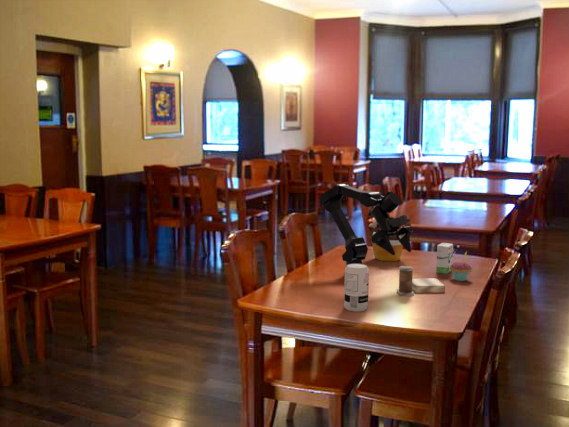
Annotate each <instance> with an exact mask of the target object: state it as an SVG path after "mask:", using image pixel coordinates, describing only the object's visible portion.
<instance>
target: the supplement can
mask: <svg viewBox="0 0 569 427" xmlns="http://www.w3.org/2000/svg"><path fill="white" fill-rule="evenodd" d="M369 281H370V269H369V268H368V265H366V264H363V263H362V264H348V265H347V266H346V265H345V268H344V282H343V283H344V285H343V288H344V289H343V290H344V291H343V292H344V294H343V296H344V297H343V300H344V301H343V307H344V308H345V310H347V311H350V312H355V313H357V312H359V313H360V312H361V313H362V312H364V311H367V309H369V287H370V286H369V283H370V282H369Z"/></svg>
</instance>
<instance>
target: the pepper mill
mask: <svg viewBox="0 0 569 427" xmlns="http://www.w3.org/2000/svg"><path fill="white" fill-rule="evenodd" d="M398 269H399V272H398V273H399V276H398V277H399V278H398V288H397V289H396V293H397V294H398V295H399V296H401V297H403V296H405V297H409V296H412V297H413V296H415V291H414V290H413V289H412V279H413V274H414V273H413V272H414V267H412V266H410V265H409V266H408V265H401V266H399V268H398Z"/></svg>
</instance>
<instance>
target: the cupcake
mask: <svg viewBox="0 0 569 427" xmlns="http://www.w3.org/2000/svg"><path fill="white" fill-rule="evenodd" d="M467 253H468V251H467V250H466V251H465V252H464V256H463V260H462V261H461V262H460V261H457V262H454V263H453V262H452V265H451V266H450V270H451V271H450V272H452V275H453V280H455V281H459V282H460V281H462V282H463V281H466V280H467V279H468V276H469V274H471V272H472V271H473V270H472V268H473V267H472V266H471V265H470V264H469V263H467V262H466V258H467Z"/></svg>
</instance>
